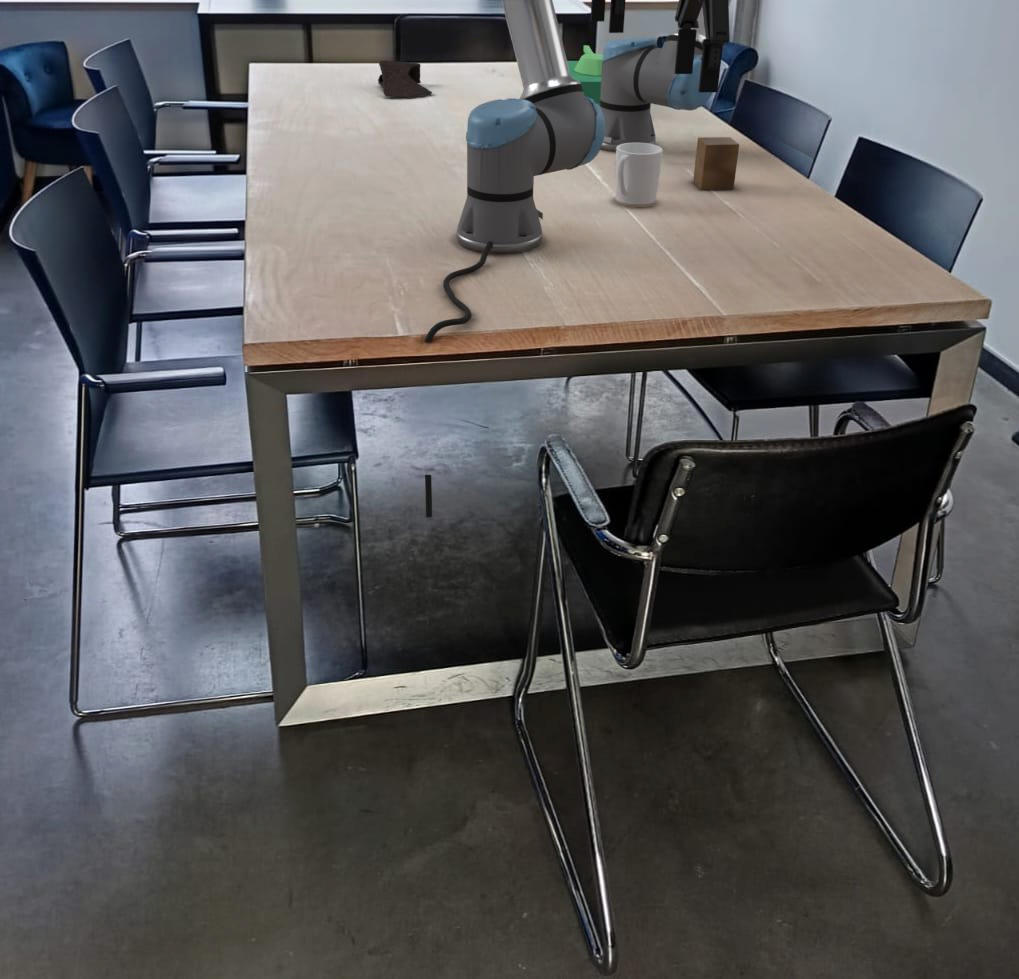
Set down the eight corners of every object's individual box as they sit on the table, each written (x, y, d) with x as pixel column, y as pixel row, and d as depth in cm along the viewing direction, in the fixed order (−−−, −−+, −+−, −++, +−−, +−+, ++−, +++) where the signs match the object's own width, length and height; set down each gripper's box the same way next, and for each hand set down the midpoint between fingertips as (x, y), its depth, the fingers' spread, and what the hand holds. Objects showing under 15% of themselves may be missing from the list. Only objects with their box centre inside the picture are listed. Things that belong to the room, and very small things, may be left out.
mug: (629, 191, 223) (633, 140, 217) (666, 200, 218) (671, 148, 212) (597, 203, 215) (601, 150, 210) (635, 213, 210) (640, 159, 205)
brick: (725, 181, 231) (730, 137, 226) (733, 189, 226) (739, 144, 221) (692, 181, 230) (697, 137, 226) (700, 190, 225) (705, 144, 221)
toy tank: (617, 42, 302) (635, 66, 272) (613, 88, 309) (631, 117, 279) (553, 40, 301) (564, 65, 271) (551, 87, 308) (562, 116, 278)
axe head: (443, 87, 294) (392, 77, 287) (436, 115, 299) (385, 106, 292) (421, 62, 307) (371, 52, 300) (414, 89, 311) (365, 80, 304)
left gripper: (663, -80, 167) (651, 66, 178) (711, -65, 146) (693, 100, 157) (711, -80, 168) (696, 66, 179) (765, -65, 147) (744, 100, 158)
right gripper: (577, -100, 215) (572, 17, 226) (612, -90, 194) (605, 37, 205) (614, -100, 216) (607, 16, 227) (653, -90, 195) (643, 37, 207)
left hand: (695, 82), depth 168 cm, fingers open, 13 cm apart
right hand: (606, 27), depth 216 cm, fingers open, 13 cm apart
